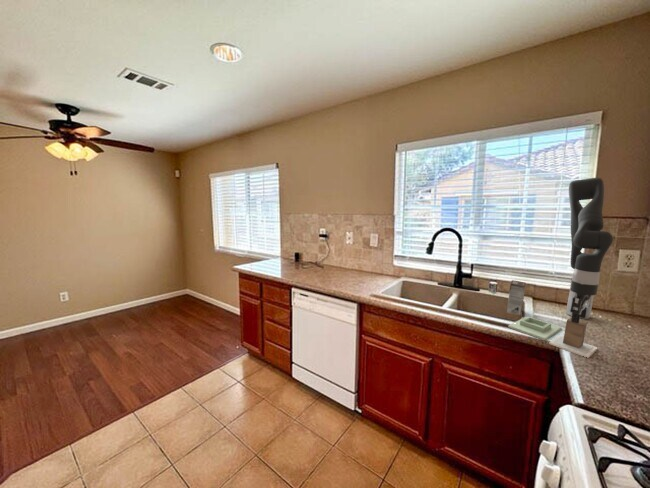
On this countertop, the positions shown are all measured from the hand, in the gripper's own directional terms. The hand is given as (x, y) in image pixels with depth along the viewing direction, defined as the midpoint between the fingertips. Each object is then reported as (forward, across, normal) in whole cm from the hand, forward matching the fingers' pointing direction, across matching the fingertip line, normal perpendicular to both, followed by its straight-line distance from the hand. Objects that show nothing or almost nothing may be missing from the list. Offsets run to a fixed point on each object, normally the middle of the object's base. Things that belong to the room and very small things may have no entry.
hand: (578, 319), depth 107 cm
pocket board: (+12, -6, -15) cm, 20 cm away
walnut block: (+11, 0, 0) cm, 11 cm away
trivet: (+12, 0, 0) cm, 12 cm away
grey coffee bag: (+12, -20, -29) cm, 37 cm away
